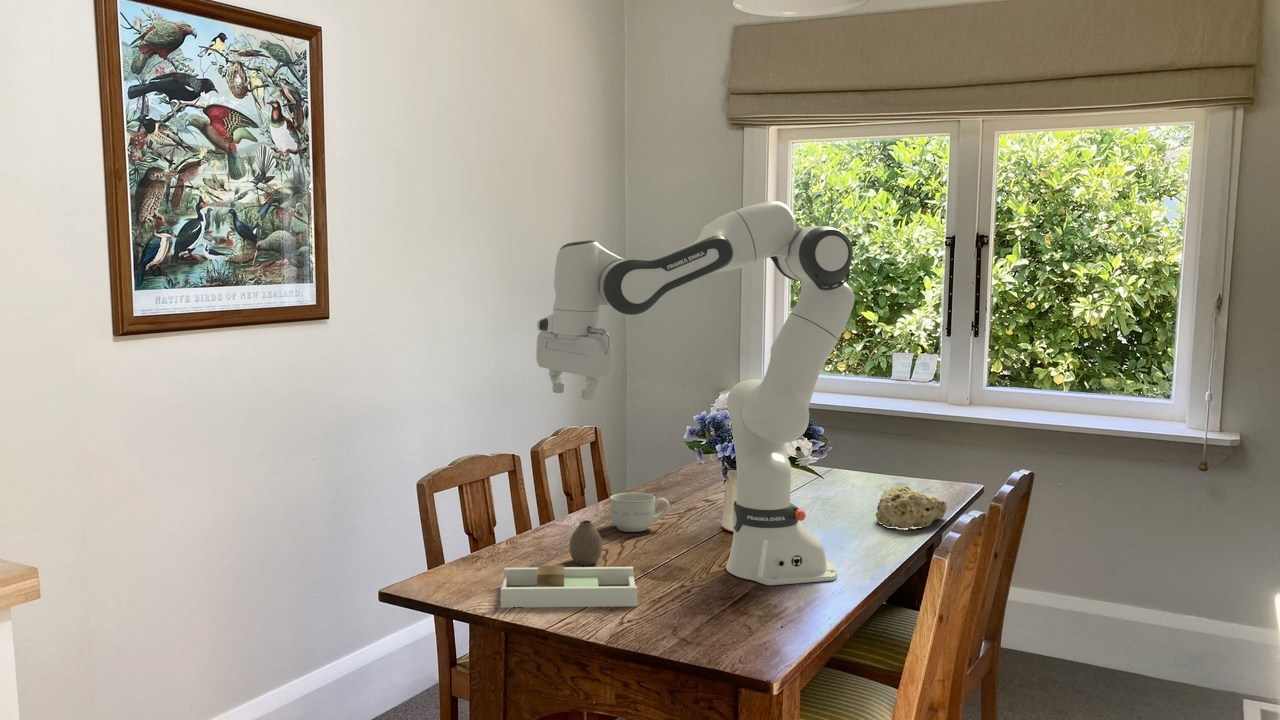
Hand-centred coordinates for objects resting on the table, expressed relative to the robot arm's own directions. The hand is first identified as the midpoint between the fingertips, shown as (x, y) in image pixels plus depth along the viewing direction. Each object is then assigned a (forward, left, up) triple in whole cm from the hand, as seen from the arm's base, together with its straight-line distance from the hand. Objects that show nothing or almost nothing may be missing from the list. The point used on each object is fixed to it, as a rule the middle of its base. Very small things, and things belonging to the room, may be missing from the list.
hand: (572, 396), depth 189 cm
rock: (-84, -41, -37) cm, 100 cm away
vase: (-3, -11, -37) cm, 39 cm away
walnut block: (+4, +8, -35) cm, 36 cm away
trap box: (0, +8, -37) cm, 38 cm away
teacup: (-16, -35, -37) cm, 54 cm away
